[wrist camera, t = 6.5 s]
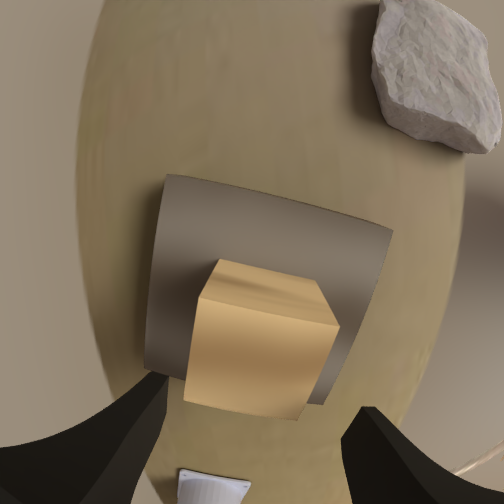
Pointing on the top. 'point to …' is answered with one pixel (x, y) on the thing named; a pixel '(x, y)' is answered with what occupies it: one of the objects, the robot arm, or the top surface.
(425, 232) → the top surface
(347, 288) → the base block
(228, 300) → the maple cube
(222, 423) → the top surface
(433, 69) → the stone block
